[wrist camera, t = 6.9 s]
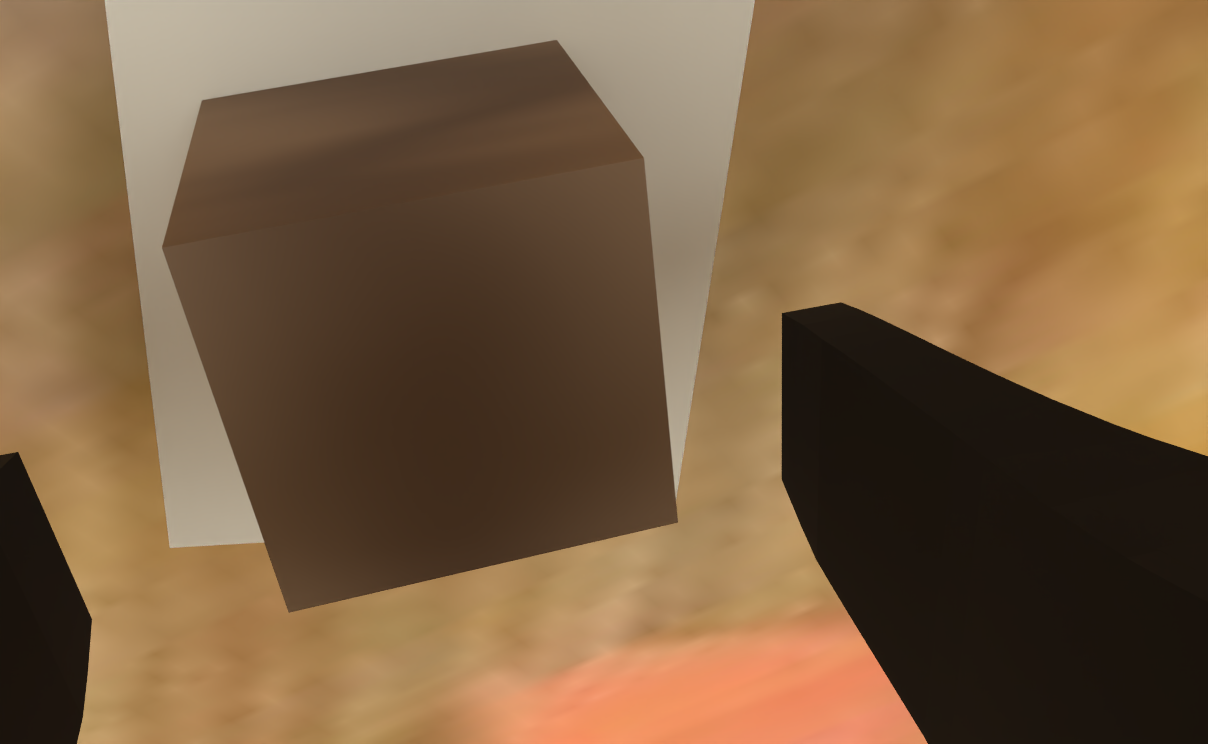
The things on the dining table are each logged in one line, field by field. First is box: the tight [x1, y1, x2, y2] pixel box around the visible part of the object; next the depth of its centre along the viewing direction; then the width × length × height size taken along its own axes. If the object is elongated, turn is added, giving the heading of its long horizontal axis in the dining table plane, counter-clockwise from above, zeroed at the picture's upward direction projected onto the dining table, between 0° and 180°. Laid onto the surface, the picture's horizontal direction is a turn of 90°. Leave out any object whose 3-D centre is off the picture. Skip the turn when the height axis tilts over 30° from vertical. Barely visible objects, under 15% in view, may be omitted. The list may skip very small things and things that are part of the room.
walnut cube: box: [162, 40, 678, 612], centre depth 14 cm, size 4×4×4 cm
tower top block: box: [105, 0, 755, 548], centre depth 17 cm, size 8×10×2 cm
